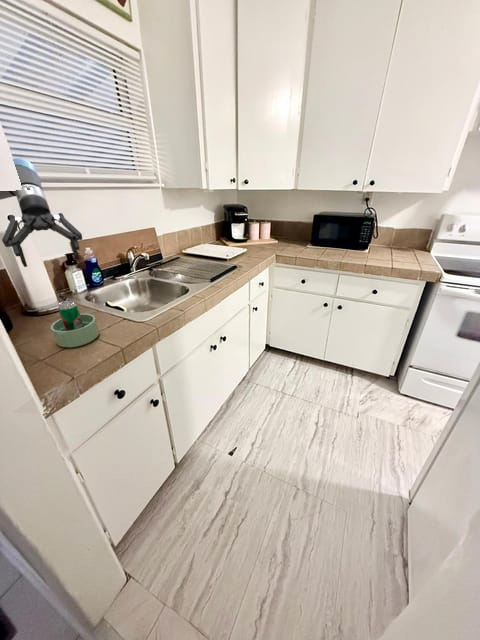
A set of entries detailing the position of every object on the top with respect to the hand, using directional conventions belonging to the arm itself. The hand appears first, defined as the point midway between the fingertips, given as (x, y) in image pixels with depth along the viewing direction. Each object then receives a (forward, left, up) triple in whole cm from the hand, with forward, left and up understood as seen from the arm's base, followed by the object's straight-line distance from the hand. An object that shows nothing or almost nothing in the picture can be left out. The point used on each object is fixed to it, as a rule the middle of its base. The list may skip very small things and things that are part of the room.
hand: (52, 261), depth 79 cm
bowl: (+5, -6, -24) cm, 25 cm away
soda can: (+5, -6, -24) cm, 25 cm away
